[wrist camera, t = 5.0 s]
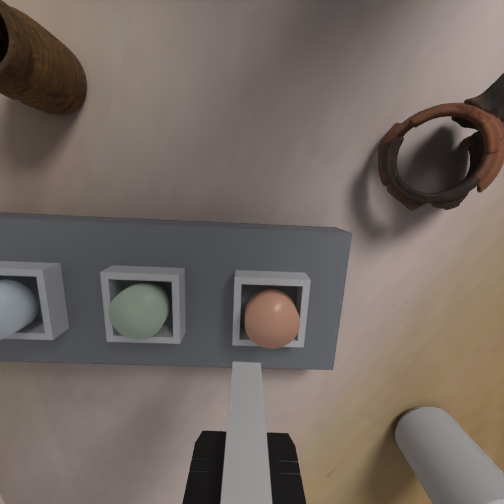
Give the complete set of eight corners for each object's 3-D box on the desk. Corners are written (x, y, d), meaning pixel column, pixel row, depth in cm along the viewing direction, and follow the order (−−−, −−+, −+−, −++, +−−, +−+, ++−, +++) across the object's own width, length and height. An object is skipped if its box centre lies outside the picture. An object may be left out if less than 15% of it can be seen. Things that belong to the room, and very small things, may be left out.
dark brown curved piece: (439, 224, 27) (454, 235, 20) (361, 181, 30) (350, 177, 23) (545, 107, 21) (616, 66, 14) (437, 68, 24) (454, 18, 17)
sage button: (119, 280, 22) (106, 288, 20) (170, 282, 22) (162, 290, 20) (122, 326, 23) (110, 338, 21) (171, 327, 23) (164, 340, 21)
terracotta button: (245, 287, 21) (245, 297, 19) (297, 289, 21) (302, 299, 19) (244, 334, 22) (243, 347, 20) (293, 335, 22) (297, 349, 20)
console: (-20, 211, 25) (-101, 217, 19) (336, 227, 26) (362, 237, 20) (5, 337, 28) (-58, 374, 22) (321, 346, 29) (340, 384, 23)
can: (450, 441, 33) (562, 578, 21) (393, 453, 33) (473, 595, 21) (447, 395, 31) (567, 516, 19) (387, 407, 31) (471, 535, 20)
